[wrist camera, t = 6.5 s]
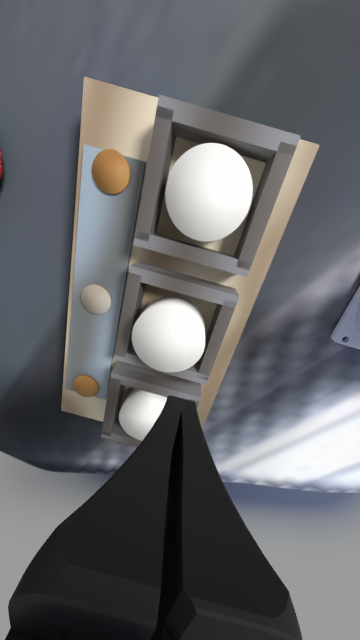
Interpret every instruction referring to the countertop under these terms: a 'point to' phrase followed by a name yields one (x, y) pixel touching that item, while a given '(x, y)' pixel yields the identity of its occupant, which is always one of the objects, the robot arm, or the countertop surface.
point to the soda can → (0, 164)
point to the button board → (163, 246)
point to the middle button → (169, 334)
